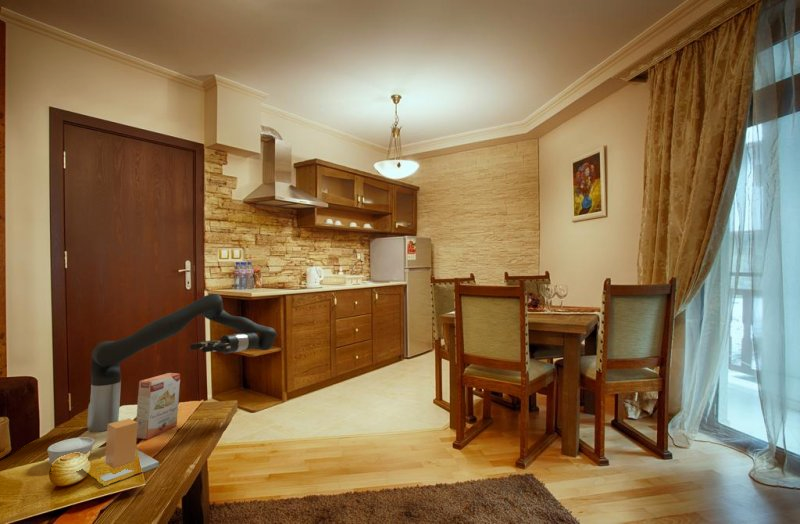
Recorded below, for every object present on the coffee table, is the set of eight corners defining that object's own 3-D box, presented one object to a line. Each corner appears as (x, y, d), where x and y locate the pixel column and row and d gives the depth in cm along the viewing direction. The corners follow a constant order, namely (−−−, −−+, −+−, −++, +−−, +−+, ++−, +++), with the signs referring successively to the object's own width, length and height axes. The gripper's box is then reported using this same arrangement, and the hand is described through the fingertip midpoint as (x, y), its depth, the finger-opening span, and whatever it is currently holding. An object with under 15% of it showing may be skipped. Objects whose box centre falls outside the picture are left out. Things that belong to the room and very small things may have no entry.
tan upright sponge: (105, 463, 114) (107, 424, 115) (126, 456, 119) (129, 418, 120) (113, 469, 111) (115, 428, 112) (135, 461, 116) (137, 422, 117)
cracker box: (148, 440, 135) (151, 382, 136) (134, 438, 136) (137, 380, 137) (178, 426, 148) (181, 373, 150) (165, 424, 150) (168, 372, 151)
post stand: (80, 468, 114) (82, 440, 115) (132, 451, 126) (134, 425, 126) (104, 486, 104) (106, 455, 105) (158, 466, 116) (160, 439, 117)
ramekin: (101, 454, 123) (103, 438, 124) (65, 471, 112) (66, 453, 113) (75, 451, 126) (76, 435, 126) (36, 466, 115) (38, 449, 115)
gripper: (224, 332, 162) (186, 336, 148) (245, 335, 154) (206, 340, 140) (224, 350, 161) (185, 355, 148) (244, 354, 154) (205, 360, 140)
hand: (196, 348), depth 144 cm, fingers open, 8 cm apart
